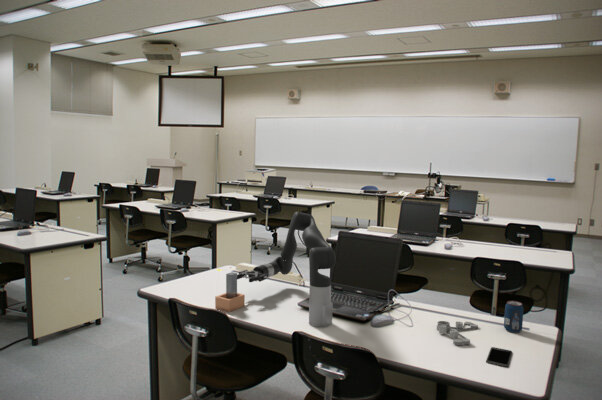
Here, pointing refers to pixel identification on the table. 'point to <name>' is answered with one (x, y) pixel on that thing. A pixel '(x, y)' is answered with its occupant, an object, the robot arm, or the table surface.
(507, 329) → the soda can
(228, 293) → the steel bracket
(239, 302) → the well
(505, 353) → the smartphone
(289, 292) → the table surface
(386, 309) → the walkie-talkie
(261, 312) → the table surface
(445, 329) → the pulley system
